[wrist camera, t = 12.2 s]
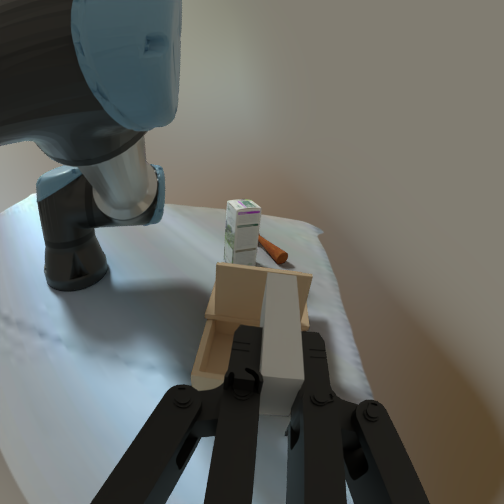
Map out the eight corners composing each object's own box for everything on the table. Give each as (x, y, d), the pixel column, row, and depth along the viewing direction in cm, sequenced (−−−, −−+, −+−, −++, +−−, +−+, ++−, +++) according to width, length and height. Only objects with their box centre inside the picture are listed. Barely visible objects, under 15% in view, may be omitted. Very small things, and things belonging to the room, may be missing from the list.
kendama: (272, 252, 65) (229, 214, 79) (271, 272, 69) (230, 233, 82) (293, 244, 68) (248, 208, 81) (291, 263, 71) (248, 226, 85)
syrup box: (255, 268, 66) (263, 207, 59) (231, 272, 63) (236, 208, 57) (245, 256, 70) (251, 198, 63) (222, 259, 68) (226, 199, 61)
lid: (204, 318, 40) (205, 264, 36) (221, 265, 53) (224, 220, 49) (308, 330, 40) (322, 278, 36) (301, 275, 53) (310, 231, 49)
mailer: (193, 401, 34) (190, 374, 31) (211, 331, 46) (211, 303, 44) (299, 413, 34) (310, 388, 31) (296, 342, 46) (303, 314, 43)
